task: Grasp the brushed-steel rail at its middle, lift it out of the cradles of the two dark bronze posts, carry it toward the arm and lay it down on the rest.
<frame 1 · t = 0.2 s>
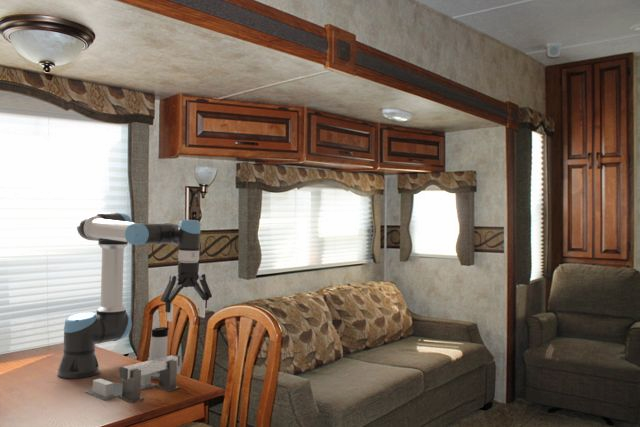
hand: (186, 319, 203), 27 cm above the table, fingers open, 13 cm apart
standard b: (167, 387, 207), on the table
standard a: (130, 398, 194), on the table
rest: (122, 389, 204), on the table
rail: (150, 371, 201), point 8 cm above the table, touching standard a, standard b
travel mug: (158, 377, 220), on the table
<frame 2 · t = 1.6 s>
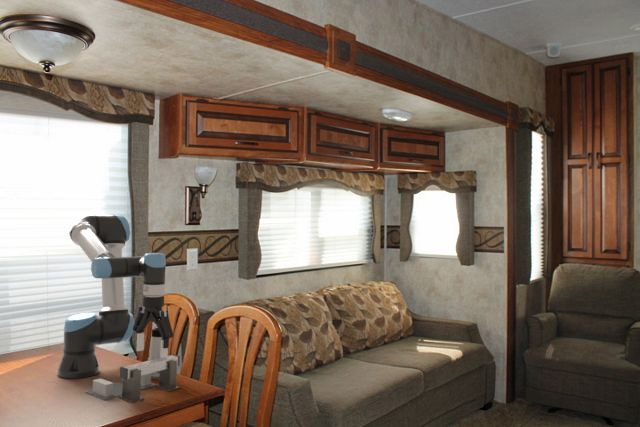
hand: (151, 353, 200), 14 cm above the table, fingers open, 13 cm apart
nothing on the table moved.
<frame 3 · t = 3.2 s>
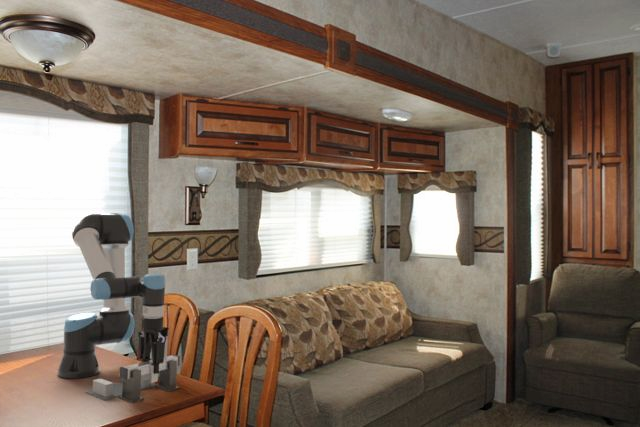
hand: (150, 380, 201), 5 cm above the table, fingers closed on rail, 3 cm apart
rail: (150, 371, 201), point 8 cm above the table, touching gripper, standard a, standard b
everything else where it was.
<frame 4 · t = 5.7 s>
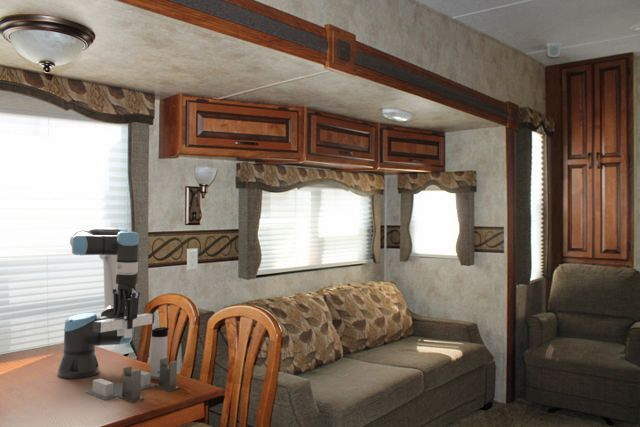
hand: (124, 336, 204), 20 cm above the table, fingers closed on rail, 3 cm apart
rail: (124, 327, 204), point 23 cm above the table, touching gripper
everything else where it was.
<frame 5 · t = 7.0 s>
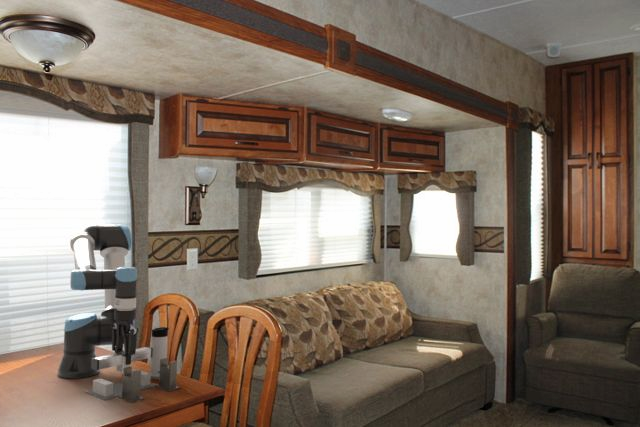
hand: (122, 371, 204), 6 cm above the table, fingers closed on rail, 3 cm apart
rail: (123, 362, 204), point 10 cm above the table, touching gripper
everything else where it was.
when the fingers open (2 cm above the table, at t = 8.1 s): rail stays where it is, resting on rest.
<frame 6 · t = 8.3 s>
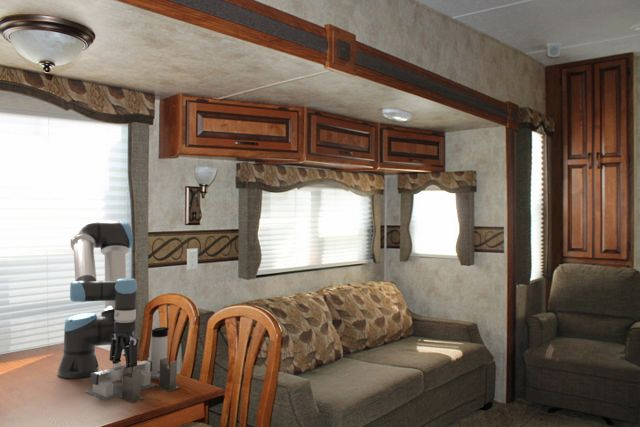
hand: (122, 382, 204), 2 cm above the table, fingers open, 6 cm apart
rail: (122, 376, 204), point 5 cm above the table, touching rest
everything else where it was.
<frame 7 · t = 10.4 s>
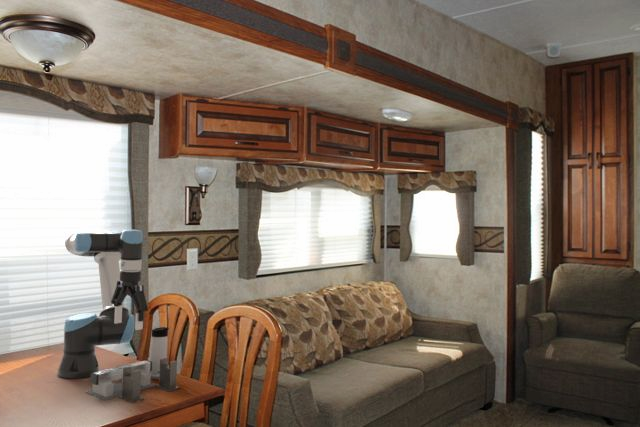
hand: (128, 326, 209), 22 cm above the table, fingers open, 13 cm apart
nothing on the table moved.
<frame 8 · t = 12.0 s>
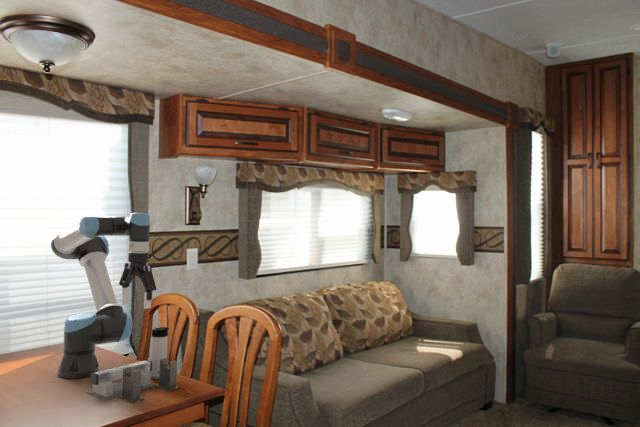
hand: (136, 306, 216), 29 cm above the table, fingers open, 13 cm apart
nothing on the table moved.
at the end: rail inside the target area on the rest (0.1 cm from its centre), point 4.6 cm above the rest's base; the gripper is holding nothing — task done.
